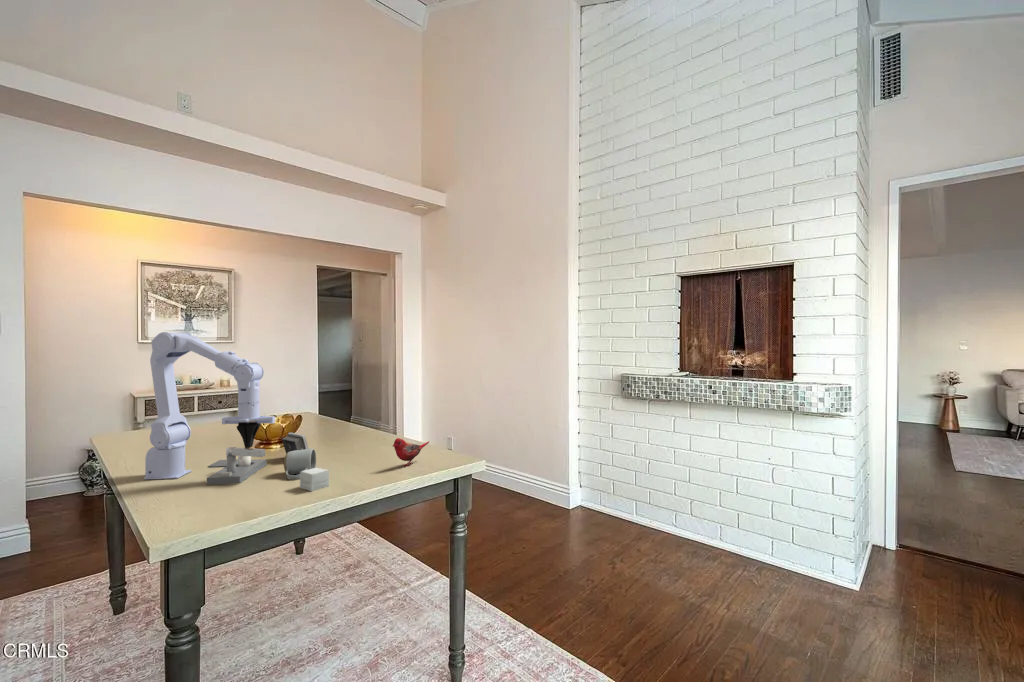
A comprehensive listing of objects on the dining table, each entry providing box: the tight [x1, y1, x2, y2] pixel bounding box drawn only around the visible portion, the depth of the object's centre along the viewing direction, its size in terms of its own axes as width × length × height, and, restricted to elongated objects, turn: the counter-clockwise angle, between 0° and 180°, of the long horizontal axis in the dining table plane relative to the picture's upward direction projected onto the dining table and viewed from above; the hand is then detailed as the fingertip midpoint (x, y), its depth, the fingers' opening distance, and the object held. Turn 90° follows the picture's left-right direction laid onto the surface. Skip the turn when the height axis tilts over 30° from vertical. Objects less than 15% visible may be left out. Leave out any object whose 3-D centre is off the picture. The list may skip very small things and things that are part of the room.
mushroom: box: [237, 446, 253, 467], centre depth 150 cm, size 5×5×7 cm
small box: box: [299, 467, 330, 492], centre depth 134 cm, size 6×6×5 cm
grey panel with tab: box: [206, 455, 268, 485], centre depth 146 cm, size 9×20×7 cm, turn 7°
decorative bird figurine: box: [391, 437, 430, 467], centre depth 159 cm, size 3×18×10 cm, turn 148°
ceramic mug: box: [283, 448, 317, 480], centre depth 146 cm, size 11×8×8 cm
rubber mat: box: [207, 459, 238, 468], centre depth 158 cm, size 8×8×1 cm
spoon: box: [225, 446, 266, 458], centre depth 140 cm, size 3×12×2 cm, turn 78°
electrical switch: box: [281, 432, 310, 455], centre depth 165 cm, size 9×5×9 cm, turn 57°
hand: (248, 447), depth 143 cm, fingers closed
